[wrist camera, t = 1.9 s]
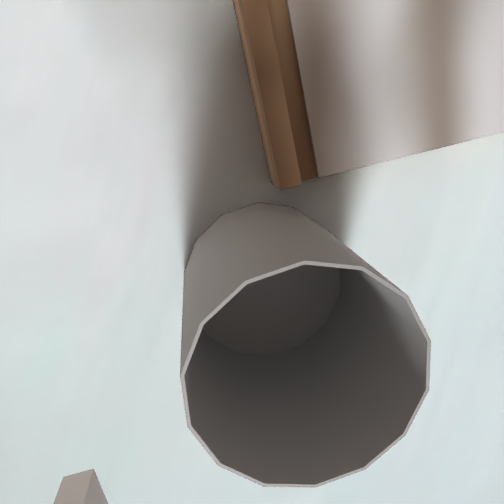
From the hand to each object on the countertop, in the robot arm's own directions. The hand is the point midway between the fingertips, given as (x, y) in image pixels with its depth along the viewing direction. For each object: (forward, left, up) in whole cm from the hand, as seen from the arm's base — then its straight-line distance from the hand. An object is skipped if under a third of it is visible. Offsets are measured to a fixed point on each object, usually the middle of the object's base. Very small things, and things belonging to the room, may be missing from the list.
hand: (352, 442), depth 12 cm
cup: (0, 0, -13) cm, 13 cm away
